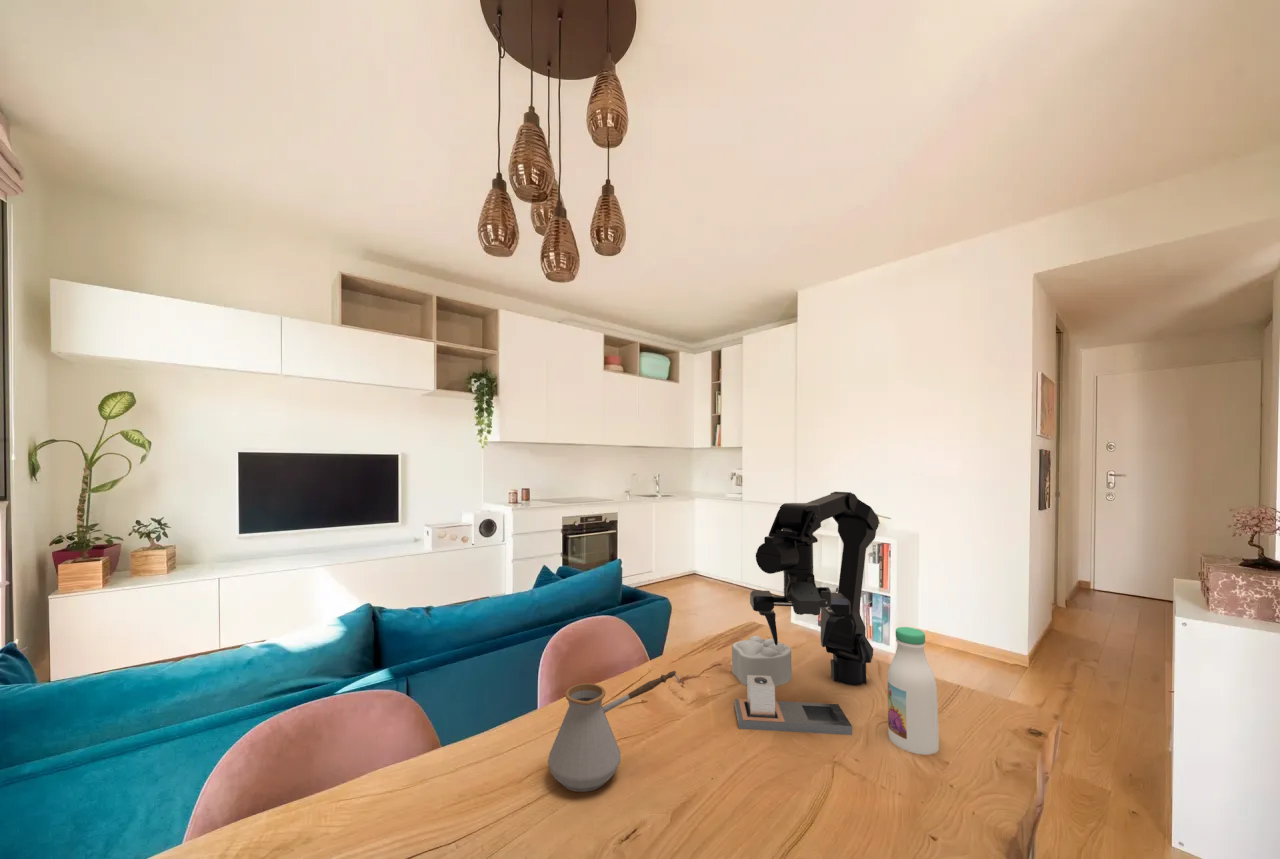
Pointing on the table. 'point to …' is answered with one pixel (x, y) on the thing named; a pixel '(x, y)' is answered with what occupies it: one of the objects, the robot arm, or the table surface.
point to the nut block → (760, 696)
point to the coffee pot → (589, 737)
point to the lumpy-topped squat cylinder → (761, 660)
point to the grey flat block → (797, 718)
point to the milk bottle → (912, 696)
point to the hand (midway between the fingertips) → (799, 645)
